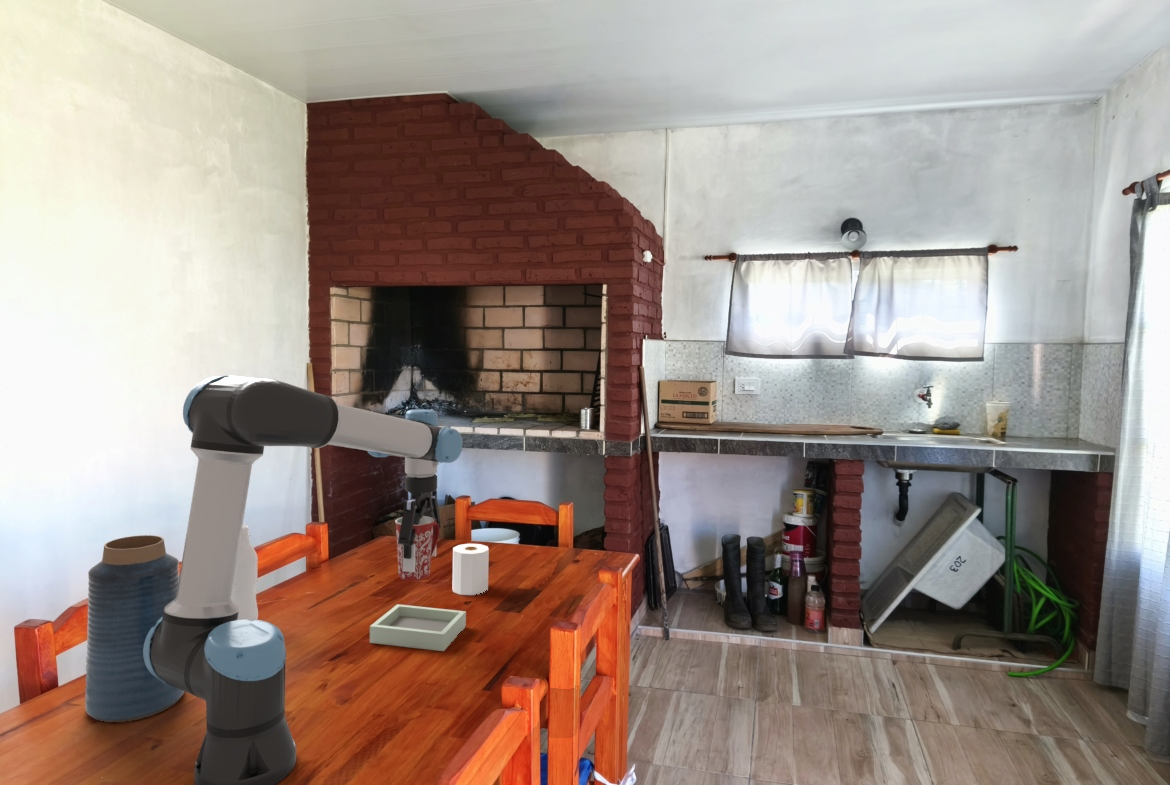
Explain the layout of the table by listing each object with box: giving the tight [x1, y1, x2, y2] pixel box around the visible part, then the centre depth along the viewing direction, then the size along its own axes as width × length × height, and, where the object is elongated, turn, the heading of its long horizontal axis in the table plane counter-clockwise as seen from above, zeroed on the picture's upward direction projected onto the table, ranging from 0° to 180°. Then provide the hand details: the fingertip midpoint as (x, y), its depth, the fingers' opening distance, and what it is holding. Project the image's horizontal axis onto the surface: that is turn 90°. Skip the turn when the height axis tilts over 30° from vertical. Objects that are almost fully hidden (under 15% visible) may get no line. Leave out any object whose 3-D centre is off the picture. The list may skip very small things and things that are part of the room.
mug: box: [394, 516, 440, 581], centre depth 170 cm, size 13×9×14 cm
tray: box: [369, 604, 467, 652], centre depth 171 cm, size 14×18×4 cm
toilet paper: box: [451, 543, 490, 596], centre depth 203 cm, size 10×10×12 cm
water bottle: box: [231, 524, 259, 621], centre depth 172 cm, size 7×7×25 cm
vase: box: [84, 534, 185, 723], centre depth 135 cm, size 16×16×32 cm
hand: (420, 563), depth 170 cm, fingers closed on mug, 12 cm apart
